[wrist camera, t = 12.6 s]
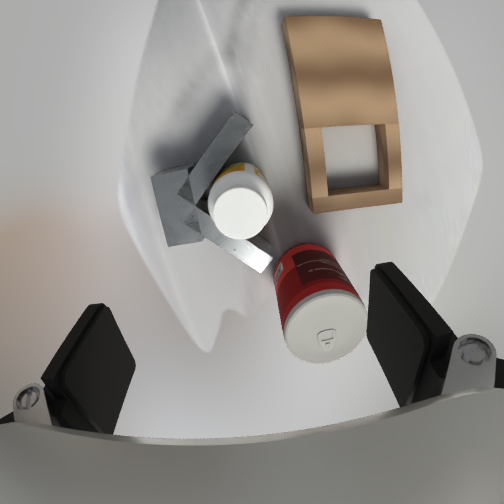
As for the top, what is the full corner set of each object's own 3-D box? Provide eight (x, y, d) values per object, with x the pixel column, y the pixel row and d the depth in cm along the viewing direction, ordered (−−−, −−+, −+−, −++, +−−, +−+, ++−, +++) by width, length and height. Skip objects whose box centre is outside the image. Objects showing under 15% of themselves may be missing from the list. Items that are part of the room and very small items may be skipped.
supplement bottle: (208, 204, 31) (194, 237, 22) (223, 155, 29) (214, 168, 20) (258, 218, 32) (263, 257, 23) (274, 171, 30) (288, 191, 21)
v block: (249, 111, 27) (250, 109, 23) (271, 254, 33) (275, 270, 30) (154, 130, 27) (141, 132, 24) (185, 267, 34) (179, 284, 30)
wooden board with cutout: (281, 24, 23) (284, 16, 21) (371, 25, 23) (380, 19, 20) (308, 207, 31) (313, 213, 29) (392, 196, 31) (402, 202, 29)
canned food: (289, 310, 36) (303, 375, 26) (260, 259, 34) (268, 318, 23) (345, 284, 35) (377, 342, 25) (322, 229, 32) (356, 277, 22)
